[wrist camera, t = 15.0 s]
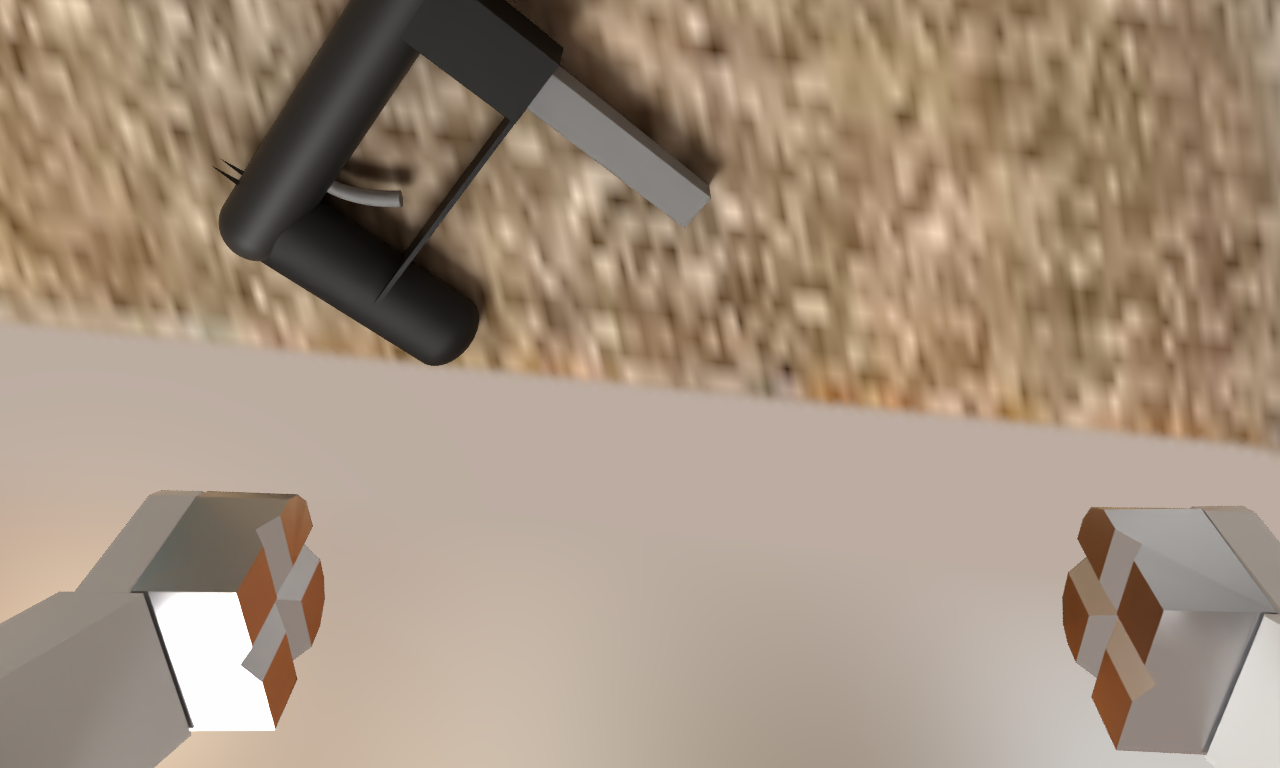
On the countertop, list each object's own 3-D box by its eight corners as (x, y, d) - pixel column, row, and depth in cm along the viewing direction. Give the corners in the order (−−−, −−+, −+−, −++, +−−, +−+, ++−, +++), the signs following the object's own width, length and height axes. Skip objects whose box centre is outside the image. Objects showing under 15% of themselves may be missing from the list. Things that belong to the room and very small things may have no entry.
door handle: (817, 88, 37) (446, -236, 31) (505, 436, 45) (169, 229, 39) (804, 64, 39) (461, -238, 34) (512, 395, 48) (199, 197, 42)
